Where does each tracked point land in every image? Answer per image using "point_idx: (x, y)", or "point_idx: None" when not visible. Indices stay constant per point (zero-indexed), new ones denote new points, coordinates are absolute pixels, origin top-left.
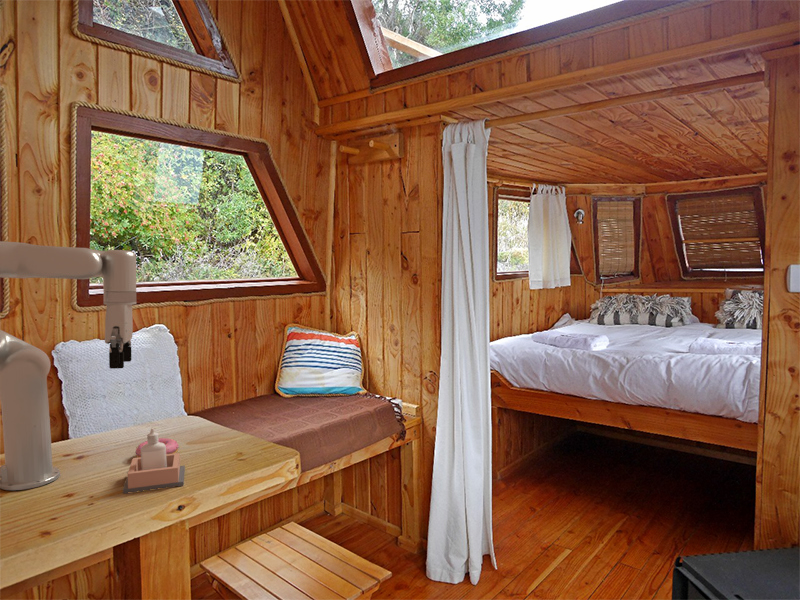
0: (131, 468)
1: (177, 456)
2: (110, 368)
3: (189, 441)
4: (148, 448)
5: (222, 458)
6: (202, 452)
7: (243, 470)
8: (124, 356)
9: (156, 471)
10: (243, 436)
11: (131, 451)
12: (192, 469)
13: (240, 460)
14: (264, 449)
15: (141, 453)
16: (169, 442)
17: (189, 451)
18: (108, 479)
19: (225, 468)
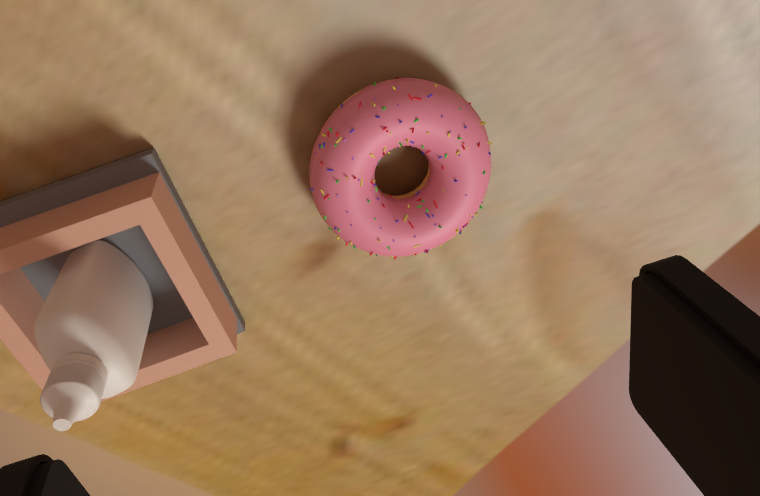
0: (15, 254)
1: (191, 362)
2: (14, 465)
3: (563, 214)
4: (43, 358)
5: (353, 392)
6: (423, 310)
7: (242, 482)
8: (680, 396)
9: (17, 356)
10: (575, 375)
11: (475, 4)
12: (245, 345)
13: (331, 446)
14: (429, 472)
15: (38, 316)
16: (410, 235)
17: (440, 261)
18: (106, 71)
19: (258, 433)
